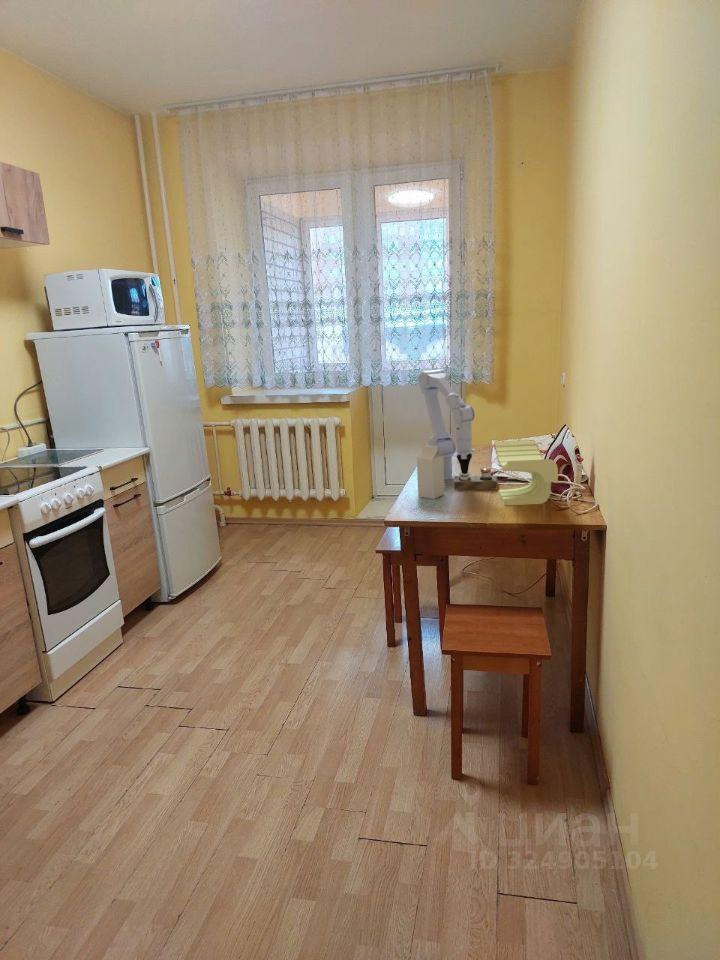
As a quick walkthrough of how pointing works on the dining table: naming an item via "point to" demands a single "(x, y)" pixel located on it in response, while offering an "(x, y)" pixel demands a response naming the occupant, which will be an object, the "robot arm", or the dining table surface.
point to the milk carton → (430, 472)
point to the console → (475, 483)
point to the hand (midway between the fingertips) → (464, 473)
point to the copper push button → (485, 473)
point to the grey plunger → (464, 476)
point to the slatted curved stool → (526, 460)
